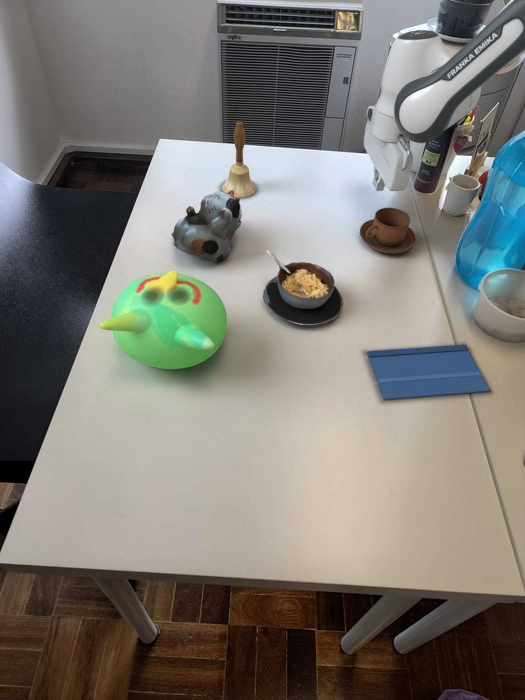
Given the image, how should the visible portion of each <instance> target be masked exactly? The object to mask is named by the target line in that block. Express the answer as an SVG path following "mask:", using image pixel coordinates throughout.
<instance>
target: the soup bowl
mask: <svg viewBox="0 0 525 700" xmlns="http://www.w3.org/2000/svg"><path fill="white" fill-rule="evenodd" d="M266 254H267V255H269V257H271V258H272V259H273V260H274V262H275V263H276V264H277V265H278V267H279V270H278V272H277V275H276V276H275V277H272V278H271V279H270V280H268V283H266V285H265V288H264V289H263V294H262V298H263V301H264V303H265V305H266V306H267V307H268V309H269V310H270V311H271V312H272V313H274V314H275V315H277V316H278V317H279V318H281V319H283V320H284V321H287V322H289V323H293V324H294V325H295V324H296V325H300V326H314V325H321V324H325V323H328V322H333V321H335V319H337V318H338V317H339V315H340V314H341V312H342V311H343V308H344V299H343V296H342V294H341V292H340V291H339V289H338V288H337V286H335V285H336V283H335V282H336V280H335V279H334V276H333V274H332V273H331V272H330V270H329V271H328V270H327V269H325V268H324V267H323V266H320V265H319V264H316V263H311V262H305V261H300V262H290V263H288V264H284V263H283V262H282V261H281V259H280V258H279V257H278V256H277V255H276V254H275V253H274V252H273V251H271V250H270V249H266Z"/></svg>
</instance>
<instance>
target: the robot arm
mask: <svg viewBox="0 0 525 700" xmlns="http://www.w3.org/2000/svg"><path fill="white" fill-rule="evenodd" d="M523 55H525V0H509V1H508V2H507V3H506V5H505V6H504V7H503V8H502V9H501V10H500V11H499V12H498V14H497V15H495V17H494V18H493V19H492V20H490V22H489V23H487V24H486V26H484V27H483V28H482V29H481V30H480V31H479V32H478V33H477V34H475V35H474V37H472V38H471V40H469V41H468V42H467V43H466V44H465V45H464V46H462V48H460V49H459V50H458V51H457V52H456V53H455V54H453V53H452V52H451V51H450V50H449V49H448V48H447V46H446V45H445V44H444V42H443V40H442V38H441V36H440V34H439V33H437V32H436V31H433V30H429V29H425V30H424V29H417V30H410V31H407V32H403V33H402V34H400V35H399V36H397V37H396V38H395V39H394V41H393V43H392V45H391V47H390V49H389V52H388V54H387V58H386V62H385V65H384V68H383V73H382V77H381V80H380V95H379V97H378V99H377V101H376V104H375V105H369V106H368V107H367V110H366V118H367V119H366V123H365V130H364V135H363V148H364V150H365V151H366V153H367V154H368V155H367V156H369V158H370V160H371V162H372V163H373V179H372V185H373V187H374V189H375V191H376V192H383V191H384V190H385V187H386V188H387V190H388V191H389V192H403V191H405V190H406V189H407V187H408V184H409V181H410V177H411V173H412V168H413V163H414V155H413V152H412V150H411V145H410V143H409V142H410V141H411V142H413V143H416V144H427V143H429V142H432V141H434V140H436V138H438V137H440V135H442V134H443V133H444V132H445V131H446V130H447V129H449V128H450V127H452V126H453V125H455V124H457V123H458V122H459V121H460V120H462V119H463V118H465V117H466V116H468V115H469V114H470V113H472V112H473V111H474V110H475V109H476V107H477V106H478V104H479V102H480V100H481V97H482V92H483V85H484V84H486V82H488V81H489V80H490V79H492V78H493V77H494V76H495V75H496V74H498V73H499V72H500V71H501V70H503V69H504V68H505V67H506V66H508V65H509V64H510V63H512V62H514V61H515V60H517V59H518V58H520V57H521V56H523Z"/></svg>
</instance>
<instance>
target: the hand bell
mask: <svg viewBox="0 0 525 700" xmlns="http://www.w3.org/2000/svg"><path fill="white" fill-rule="evenodd" d="M235 124H236V125H235V128H234V131H233V143H234V147H235V163H233V164H232V165H231V166H230V167H229V174H228V178H227V179H226V181H224V182H223V183H222V186H221V190H222V192H225V193H228V192H229V191H231V190H233V191H234V199H236V198H239V199H245V198H249V197H252V196H253V195H254V194H256V191H257V186H256V184H255V183H254V182H253V181H252V179H251V176H250V168H249V166H247V164H244V147H245V144H246V131H245V127H244V124H243V121H240V120H239V121H236V123H235Z"/></svg>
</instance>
